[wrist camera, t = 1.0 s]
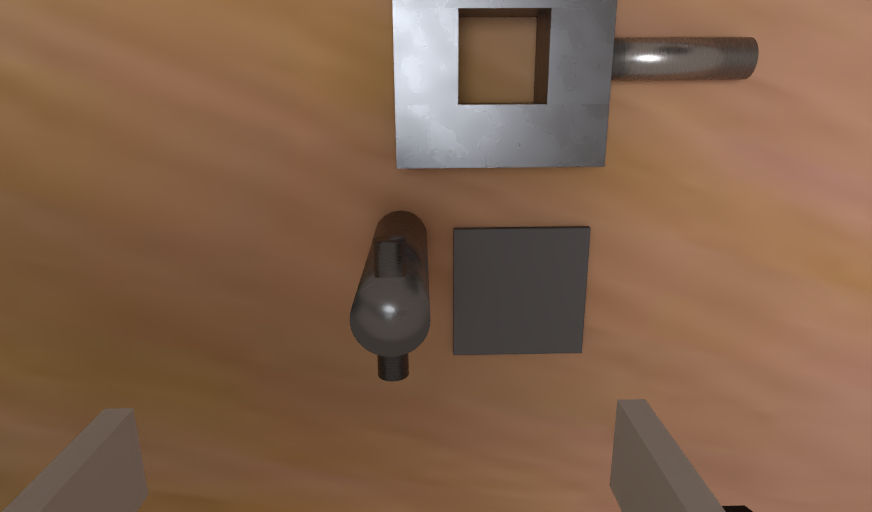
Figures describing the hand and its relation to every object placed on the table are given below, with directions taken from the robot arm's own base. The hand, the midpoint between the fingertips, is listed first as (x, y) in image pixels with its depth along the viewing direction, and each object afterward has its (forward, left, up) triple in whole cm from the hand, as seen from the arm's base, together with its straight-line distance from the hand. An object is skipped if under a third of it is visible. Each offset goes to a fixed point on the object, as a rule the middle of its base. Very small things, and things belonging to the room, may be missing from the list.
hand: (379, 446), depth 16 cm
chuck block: (+10, +11, -24) cm, 28 cm away
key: (0, 0, -24) cm, 24 cm away
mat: (+8, -4, -24) cm, 25 cm away
